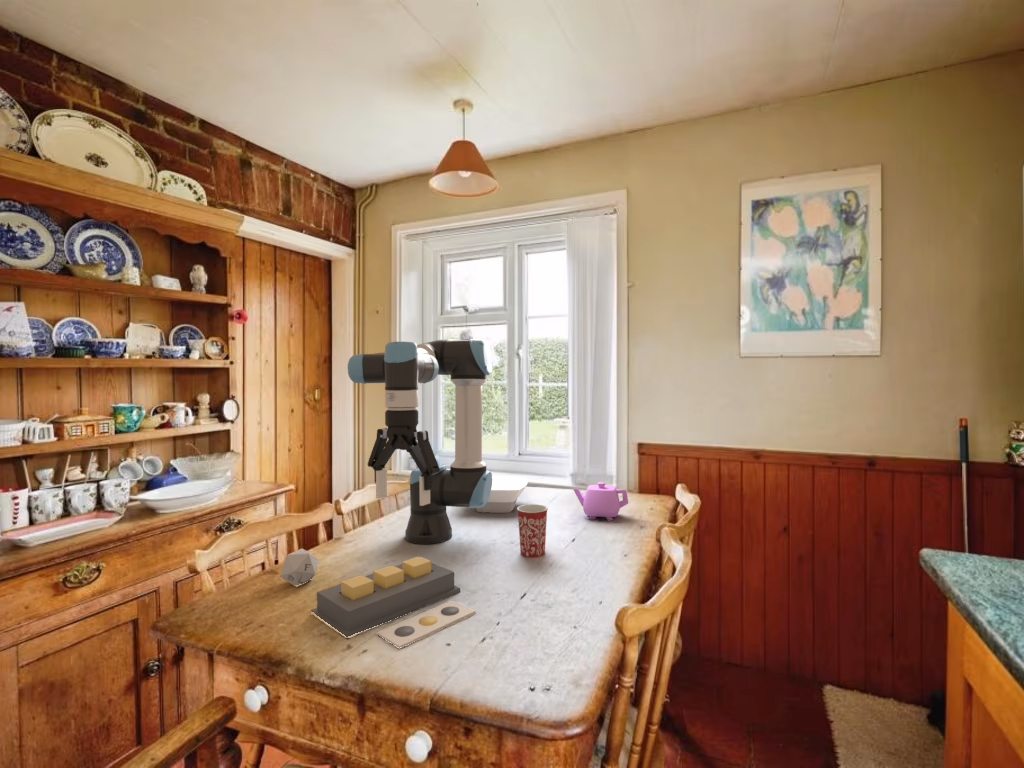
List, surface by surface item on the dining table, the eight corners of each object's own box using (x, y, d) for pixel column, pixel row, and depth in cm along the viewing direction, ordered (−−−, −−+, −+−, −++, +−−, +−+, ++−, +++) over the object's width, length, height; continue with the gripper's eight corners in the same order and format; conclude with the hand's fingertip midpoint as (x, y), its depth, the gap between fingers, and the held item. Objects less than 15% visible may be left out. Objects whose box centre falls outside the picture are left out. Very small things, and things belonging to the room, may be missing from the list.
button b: (373, 588, 119) (373, 571, 118) (391, 581, 122) (391, 565, 122) (385, 594, 115) (385, 576, 115) (403, 587, 119) (403, 570, 119)
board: (310, 614, 113) (310, 592, 113) (420, 574, 135) (420, 556, 135) (346, 639, 102) (346, 614, 102) (460, 592, 124) (459, 571, 124)
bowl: (471, 500, 216) (471, 476, 216) (530, 501, 212) (530, 477, 212) (457, 515, 192) (457, 488, 192) (523, 517, 188) (523, 490, 188)
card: (376, 635, 104) (376, 631, 104) (452, 602, 118) (452, 599, 118) (399, 649, 98) (399, 645, 98) (475, 613, 113) (475, 610, 113)
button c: (402, 577, 124) (402, 561, 124) (419, 572, 128) (418, 556, 128) (414, 583, 121) (414, 566, 121) (431, 577, 125) (431, 561, 124)
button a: (341, 599, 113) (341, 581, 113) (361, 592, 116) (361, 574, 116) (353, 606, 109) (352, 587, 109) (373, 598, 113) (373, 580, 113)
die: (275, 594, 126) (293, 565, 124) (273, 566, 133) (291, 538, 130) (308, 596, 131) (326, 569, 129) (304, 569, 138) (322, 542, 136)
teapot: (629, 513, 192) (628, 480, 192) (627, 523, 180) (627, 487, 180) (576, 510, 197) (575, 478, 197) (571, 519, 185) (571, 485, 185)
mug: (539, 560, 145) (539, 513, 144) (512, 555, 149) (511, 509, 149) (558, 547, 155) (557, 503, 155) (531, 542, 160) (531, 500, 160)
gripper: (351, 408, 121) (352, 497, 121) (432, 411, 107) (433, 511, 108) (375, 407, 127) (376, 491, 127) (454, 409, 114) (455, 503, 114)
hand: (402, 500), depth 117 cm, fingers open, 13 cm apart
